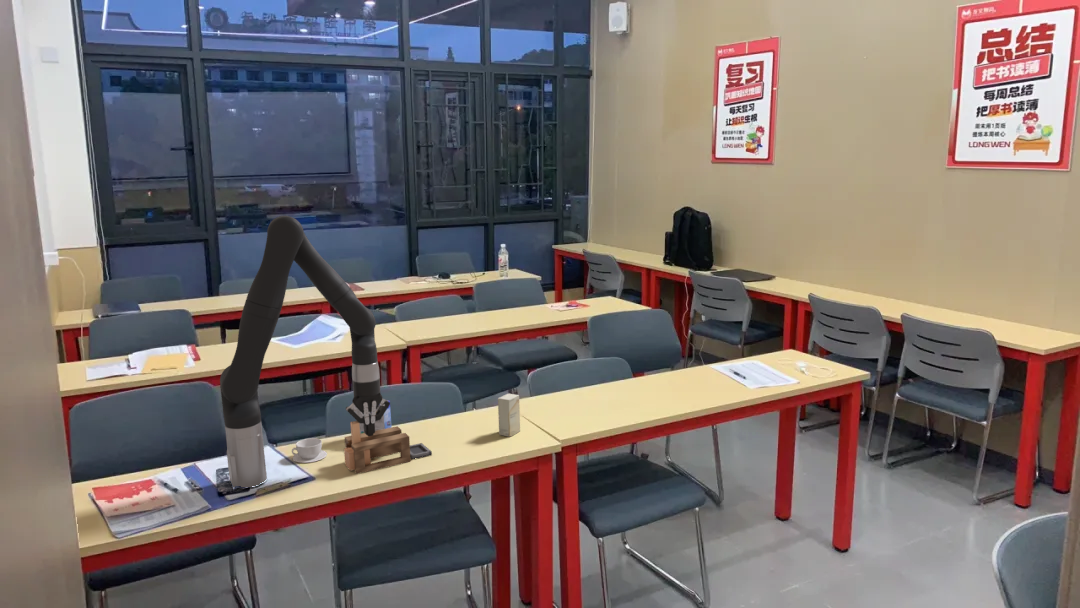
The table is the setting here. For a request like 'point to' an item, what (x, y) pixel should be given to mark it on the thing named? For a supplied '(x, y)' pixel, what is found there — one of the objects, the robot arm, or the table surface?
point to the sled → (349, 451)
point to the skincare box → (509, 414)
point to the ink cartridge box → (379, 424)
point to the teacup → (308, 450)
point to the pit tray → (419, 451)
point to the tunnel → (380, 448)
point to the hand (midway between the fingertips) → (370, 435)
